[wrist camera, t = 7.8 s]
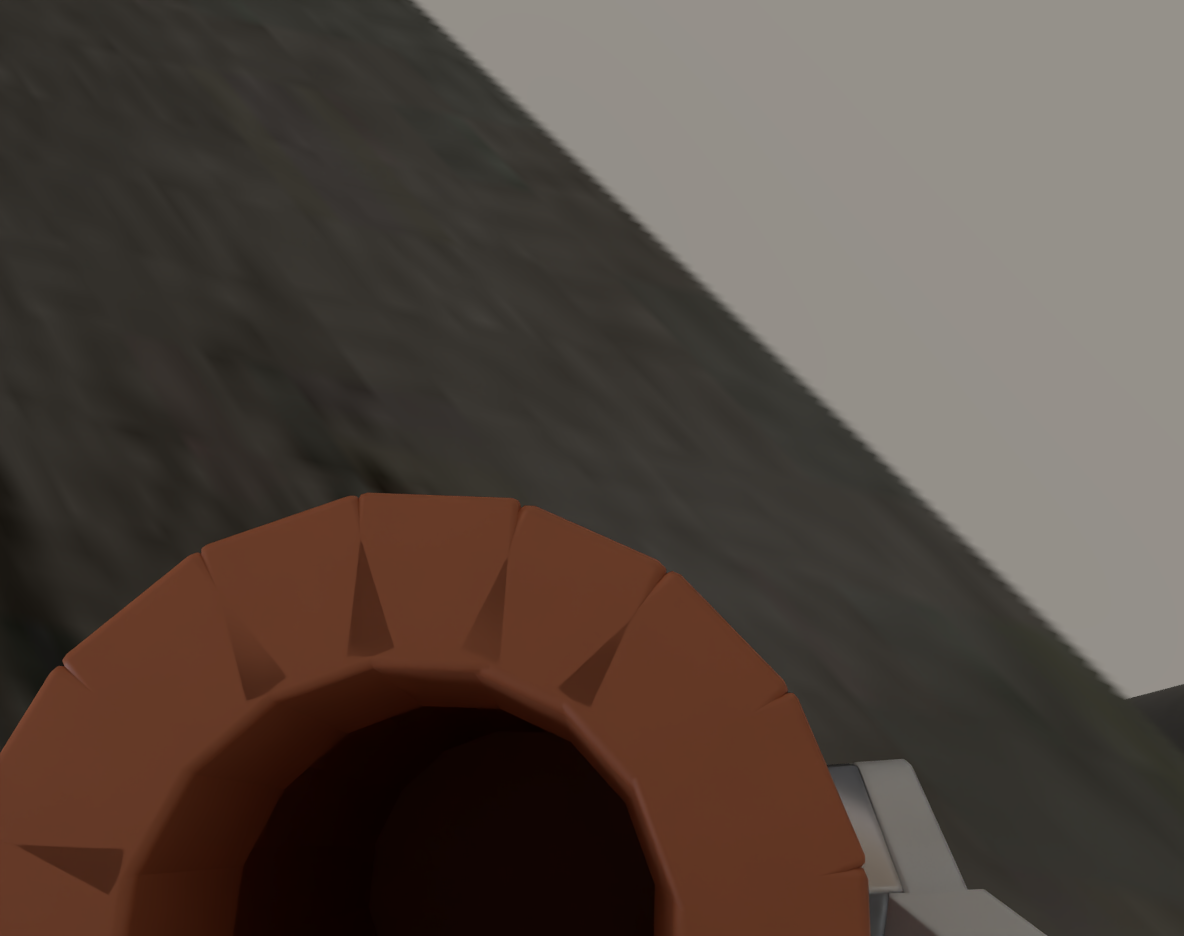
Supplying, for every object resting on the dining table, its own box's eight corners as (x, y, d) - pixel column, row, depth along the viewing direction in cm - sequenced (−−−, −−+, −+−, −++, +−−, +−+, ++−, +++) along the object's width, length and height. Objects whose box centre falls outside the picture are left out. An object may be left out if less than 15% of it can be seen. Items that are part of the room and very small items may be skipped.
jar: (756, 787, 16) (999, 707, 6) (610, 1157, 14) (640, 1807, 5) (442, 640, 16) (235, 368, 7) (270, 977, 15) (-298, 1219, 5)
